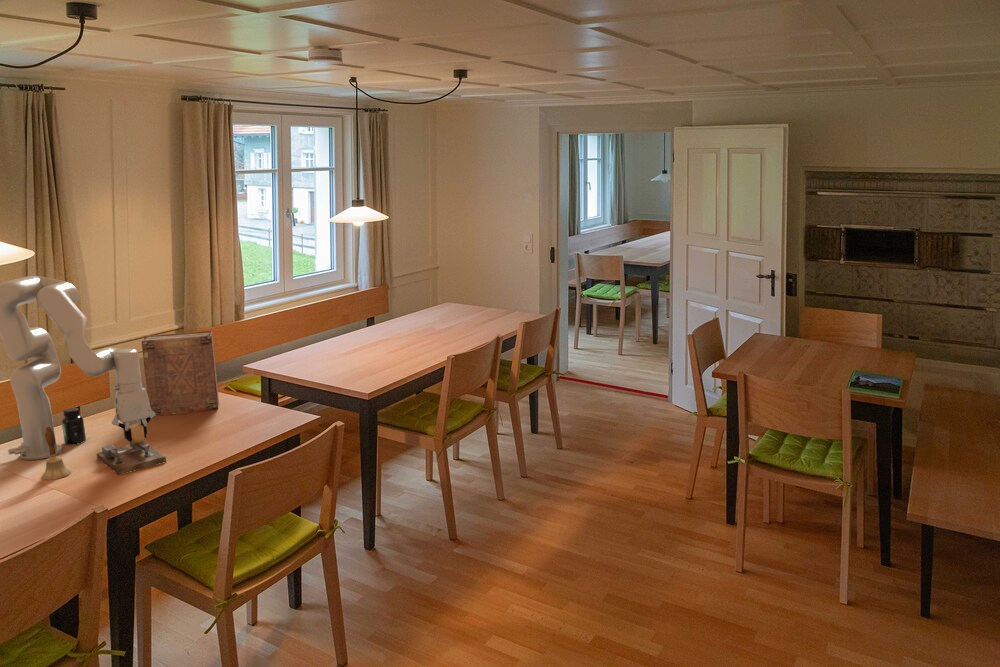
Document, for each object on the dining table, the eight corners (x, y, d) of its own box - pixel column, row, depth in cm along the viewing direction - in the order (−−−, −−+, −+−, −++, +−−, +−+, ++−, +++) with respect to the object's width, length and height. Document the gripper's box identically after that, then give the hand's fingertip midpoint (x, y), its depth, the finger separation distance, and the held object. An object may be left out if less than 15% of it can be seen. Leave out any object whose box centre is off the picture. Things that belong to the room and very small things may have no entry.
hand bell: (43, 482, 255) (36, 433, 251) (39, 473, 261) (32, 426, 258) (73, 475, 260) (66, 427, 256) (68, 467, 266) (61, 421, 263)
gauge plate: (118, 475, 259) (116, 459, 258) (97, 458, 273) (95, 444, 272) (166, 462, 269) (164, 447, 268) (143, 447, 283) (141, 432, 282)
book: (149, 416, 316) (140, 341, 310) (152, 409, 325) (143, 335, 318) (218, 409, 323) (211, 335, 317) (219, 402, 332) (212, 330, 325)
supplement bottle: (63, 446, 285) (58, 413, 283) (65, 440, 292) (61, 408, 289) (85, 443, 288) (80, 411, 285) (87, 437, 294) (82, 405, 291)
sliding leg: (141, 456, 267) (138, 434, 266) (128, 447, 276) (125, 425, 274) (153, 453, 270) (151, 431, 268) (140, 444, 278) (138, 423, 276)
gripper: (107, 394, 262) (114, 448, 266) (159, 383, 273) (165, 435, 277) (99, 389, 267) (106, 442, 271) (151, 379, 279) (157, 430, 283)
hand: (136, 438), depth 274 cm, fingers closed on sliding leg, 4 cm apart
